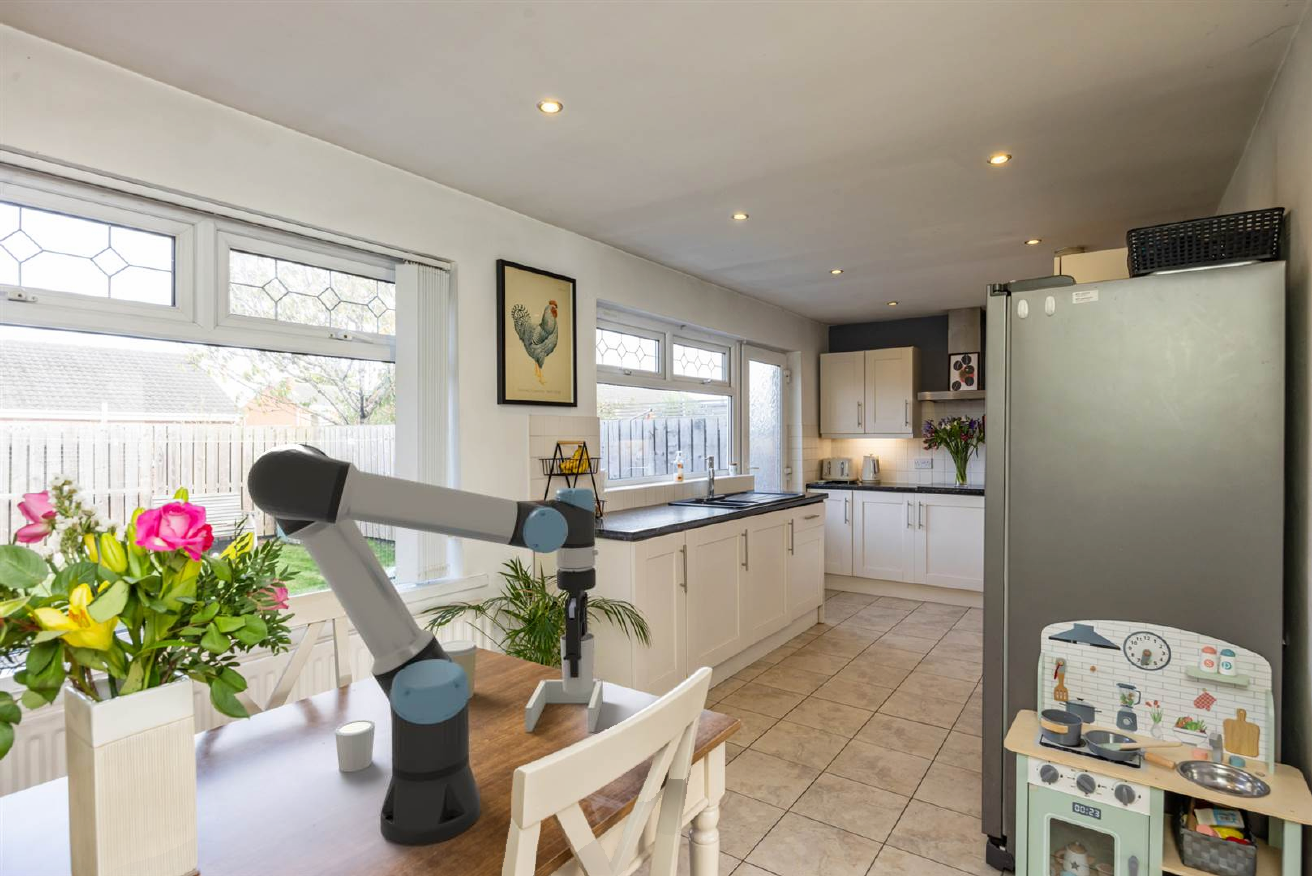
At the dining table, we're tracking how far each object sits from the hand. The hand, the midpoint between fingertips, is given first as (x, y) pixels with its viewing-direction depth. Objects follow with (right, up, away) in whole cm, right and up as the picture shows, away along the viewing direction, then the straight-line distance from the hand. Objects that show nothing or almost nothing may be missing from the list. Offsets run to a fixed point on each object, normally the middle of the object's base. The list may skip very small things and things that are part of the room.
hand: (577, 686), depth 130 cm
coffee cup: (-32, -13, +29) cm, 45 cm away
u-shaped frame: (-4, -12, +16) cm, 21 cm away
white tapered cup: (-41, -13, -5) cm, 43 cm away
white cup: (0, -1, 0) cm, 1 cm away
